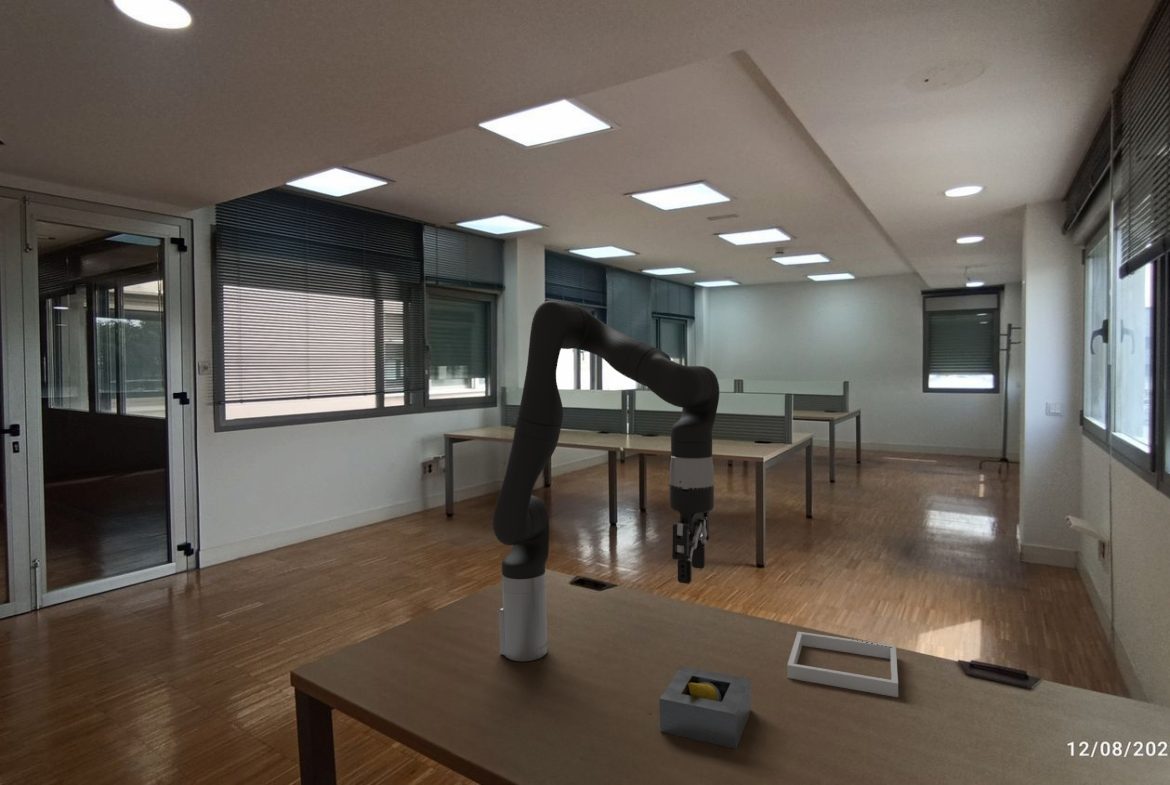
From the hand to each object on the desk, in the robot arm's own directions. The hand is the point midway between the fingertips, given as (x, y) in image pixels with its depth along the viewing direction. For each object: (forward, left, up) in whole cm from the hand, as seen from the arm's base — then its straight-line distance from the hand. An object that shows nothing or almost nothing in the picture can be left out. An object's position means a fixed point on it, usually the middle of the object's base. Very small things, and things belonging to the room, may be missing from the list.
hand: (691, 574), depth 108 cm
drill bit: (+2, -2, -23) cm, 23 cm away
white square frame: (+23, +27, -24) cm, 43 cm away
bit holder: (+3, -2, -24) cm, 24 cm away
